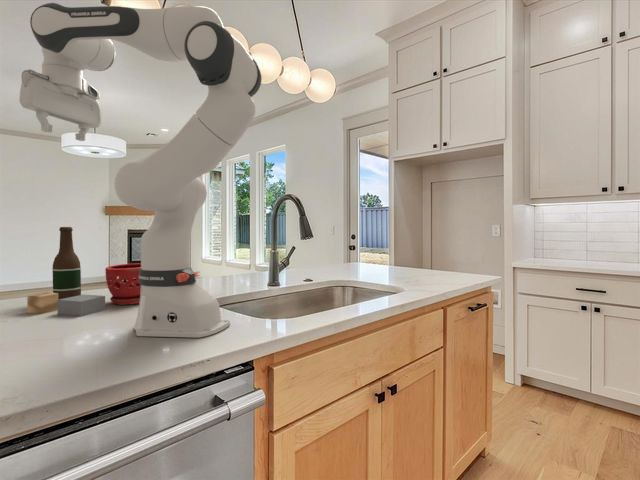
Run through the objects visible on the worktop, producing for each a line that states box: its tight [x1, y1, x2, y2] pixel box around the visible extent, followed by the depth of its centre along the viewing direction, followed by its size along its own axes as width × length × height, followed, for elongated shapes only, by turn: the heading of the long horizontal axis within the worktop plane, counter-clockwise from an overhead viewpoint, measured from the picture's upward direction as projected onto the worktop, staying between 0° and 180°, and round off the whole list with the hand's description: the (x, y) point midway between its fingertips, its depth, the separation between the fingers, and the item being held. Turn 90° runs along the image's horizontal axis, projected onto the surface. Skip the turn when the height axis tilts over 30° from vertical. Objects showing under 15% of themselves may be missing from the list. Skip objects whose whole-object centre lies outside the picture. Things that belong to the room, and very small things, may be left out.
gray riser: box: [57, 294, 106, 317], centre depth 103 cm, size 8×8×4 cm
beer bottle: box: [52, 226, 82, 300], centre depth 114 cm, size 8×8×24 cm
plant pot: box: [105, 262, 141, 306], centre depth 116 cm, size 13×13×12 cm
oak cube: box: [26, 291, 58, 315], centre depth 103 cm, size 5×5×5 cm
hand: (64, 136), depth 95 cm, fingers open, 8 cm apart
